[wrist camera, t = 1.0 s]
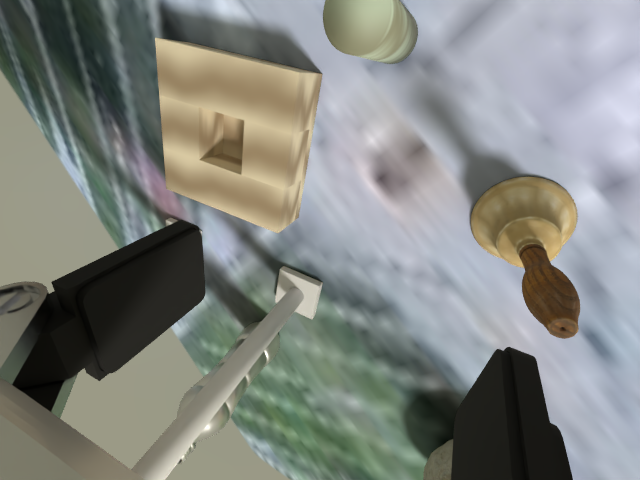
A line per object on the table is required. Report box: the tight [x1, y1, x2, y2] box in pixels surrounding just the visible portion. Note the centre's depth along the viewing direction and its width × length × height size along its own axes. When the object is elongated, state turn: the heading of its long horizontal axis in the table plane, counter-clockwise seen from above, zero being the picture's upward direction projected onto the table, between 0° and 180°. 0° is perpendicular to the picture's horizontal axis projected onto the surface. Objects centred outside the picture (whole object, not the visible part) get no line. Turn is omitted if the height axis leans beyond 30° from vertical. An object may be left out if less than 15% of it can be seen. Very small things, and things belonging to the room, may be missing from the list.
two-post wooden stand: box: [131, 218, 323, 480], centre depth 30 cm, size 14×26×36 cm, turn 79°
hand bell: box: [471, 177, 580, 339], centre depth 22 cm, size 8×8×16 cm
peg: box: [323, 0, 418, 64], centre depth 22 cm, size 4×4×11 cm
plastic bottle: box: [177, 322, 280, 464], centre depth 42 cm, size 6×7×20 cm
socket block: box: [155, 38, 322, 233], centre depth 35 cm, size 16×16×5 cm
